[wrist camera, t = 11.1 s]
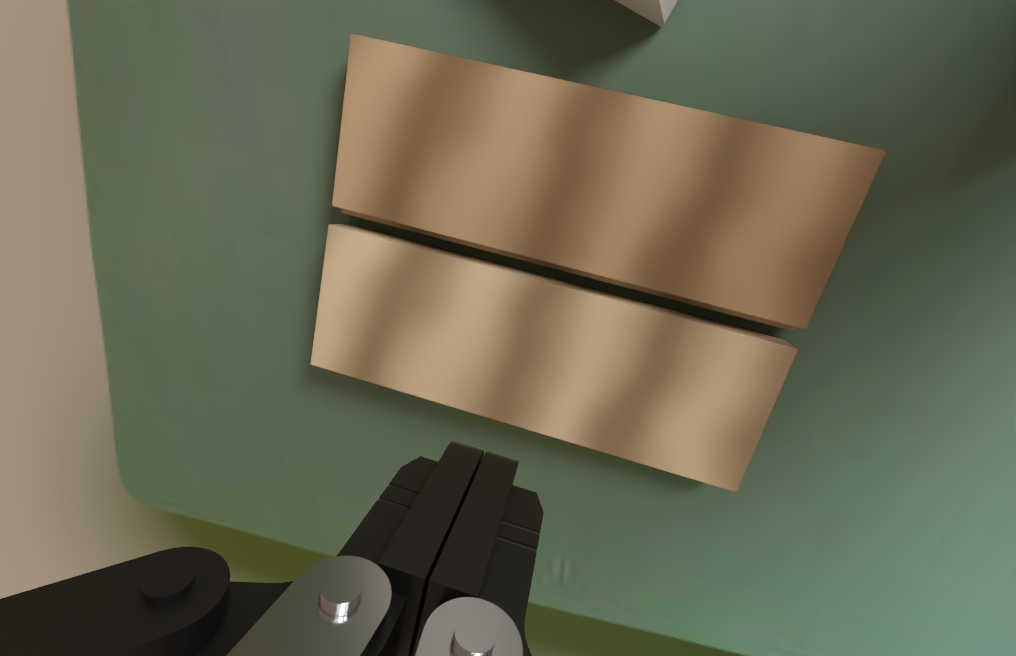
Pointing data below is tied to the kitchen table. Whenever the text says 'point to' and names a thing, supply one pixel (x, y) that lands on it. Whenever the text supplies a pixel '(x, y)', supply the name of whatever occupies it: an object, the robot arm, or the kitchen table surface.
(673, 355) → the oak plank
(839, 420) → the kitchen table surface
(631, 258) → the laid plank
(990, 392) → the kitchen table surface
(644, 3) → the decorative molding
